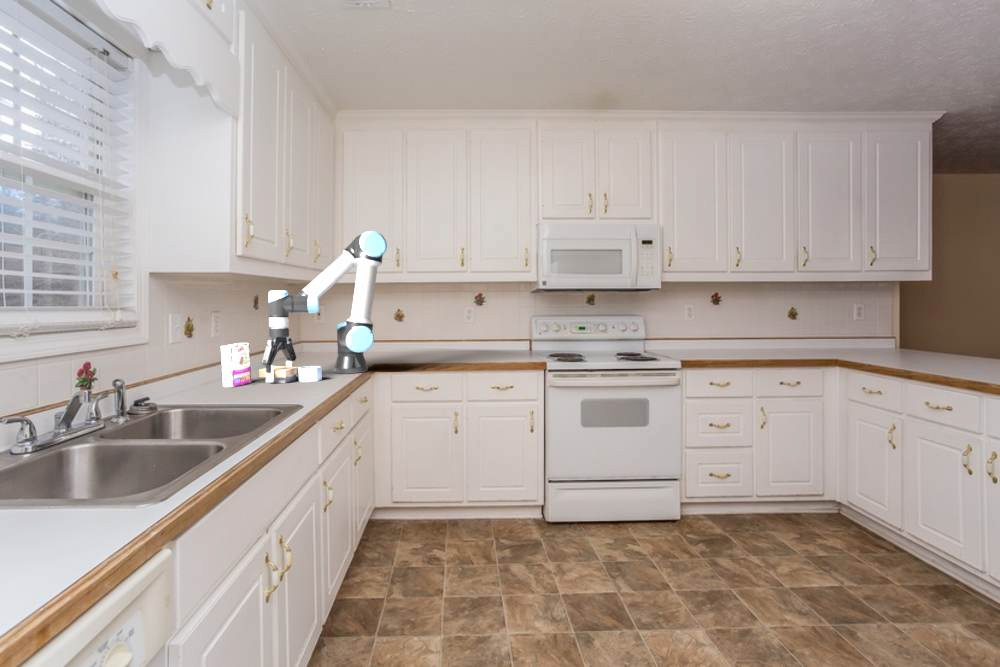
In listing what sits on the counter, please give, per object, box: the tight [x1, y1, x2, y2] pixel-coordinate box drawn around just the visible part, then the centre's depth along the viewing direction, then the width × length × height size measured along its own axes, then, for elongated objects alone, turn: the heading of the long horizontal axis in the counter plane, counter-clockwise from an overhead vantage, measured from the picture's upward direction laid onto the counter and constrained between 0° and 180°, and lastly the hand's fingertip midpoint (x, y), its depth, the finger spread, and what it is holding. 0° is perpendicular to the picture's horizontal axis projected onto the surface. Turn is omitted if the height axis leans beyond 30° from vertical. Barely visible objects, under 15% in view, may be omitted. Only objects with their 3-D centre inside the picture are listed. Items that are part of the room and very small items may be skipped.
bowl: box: [297, 365, 323, 383], centre depth 212 cm, size 9×9×6 cm
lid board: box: [258, 365, 300, 378], centre depth 210 cm, size 11×12×3 cm
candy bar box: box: [220, 342, 252, 388], centre depth 201 cm, size 11×5×16 cm, turn 171°
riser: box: [264, 375, 297, 384], centre depth 210 cm, size 8×9×2 cm
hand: (280, 378), depth 210 cm, fingers open, 13 cm apart
